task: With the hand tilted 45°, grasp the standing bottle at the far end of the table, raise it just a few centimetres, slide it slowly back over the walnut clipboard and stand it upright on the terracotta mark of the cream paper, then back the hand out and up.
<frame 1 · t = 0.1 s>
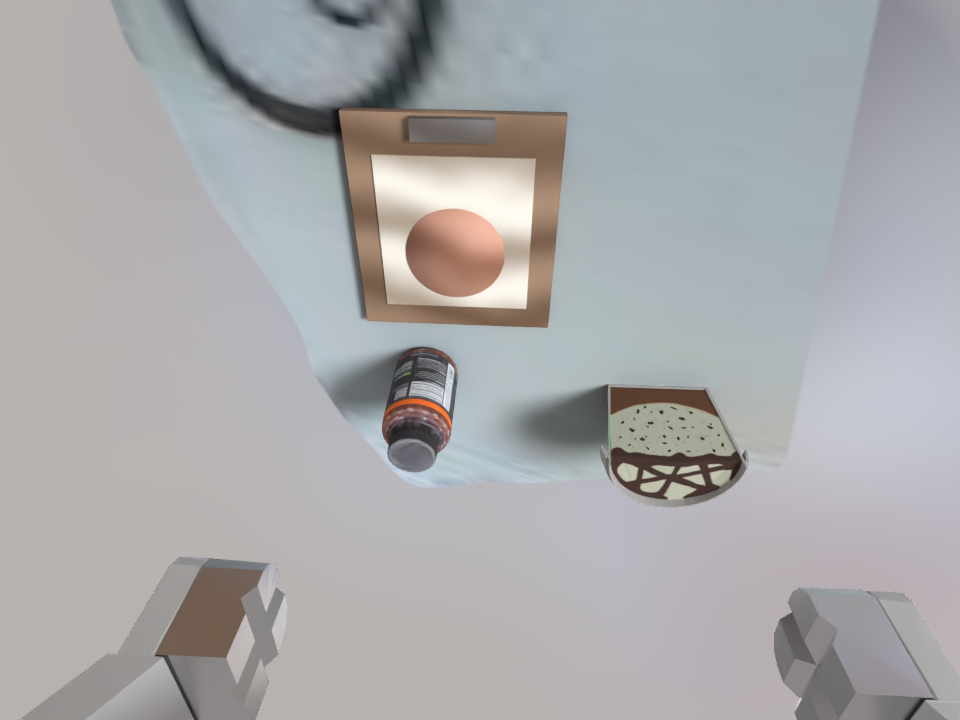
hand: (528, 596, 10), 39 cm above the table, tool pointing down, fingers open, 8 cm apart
supplement bottle: (428, 367, 58), on the table
food container: (651, 407, 59), on the table
clipboard: (455, 226, 48), on the table
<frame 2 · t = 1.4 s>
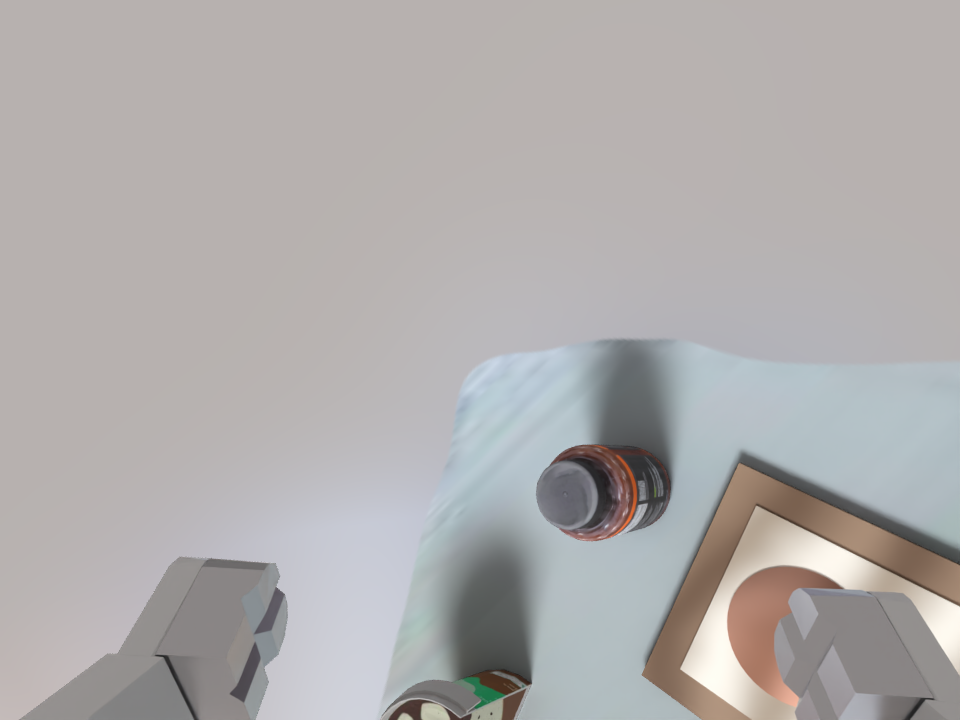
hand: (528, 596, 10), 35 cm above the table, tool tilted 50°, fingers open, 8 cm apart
supplement bottle: (633, 487, 44), on the table
food container: (481, 708, 49), on the table
clipboard: (834, 653, 36), on the table
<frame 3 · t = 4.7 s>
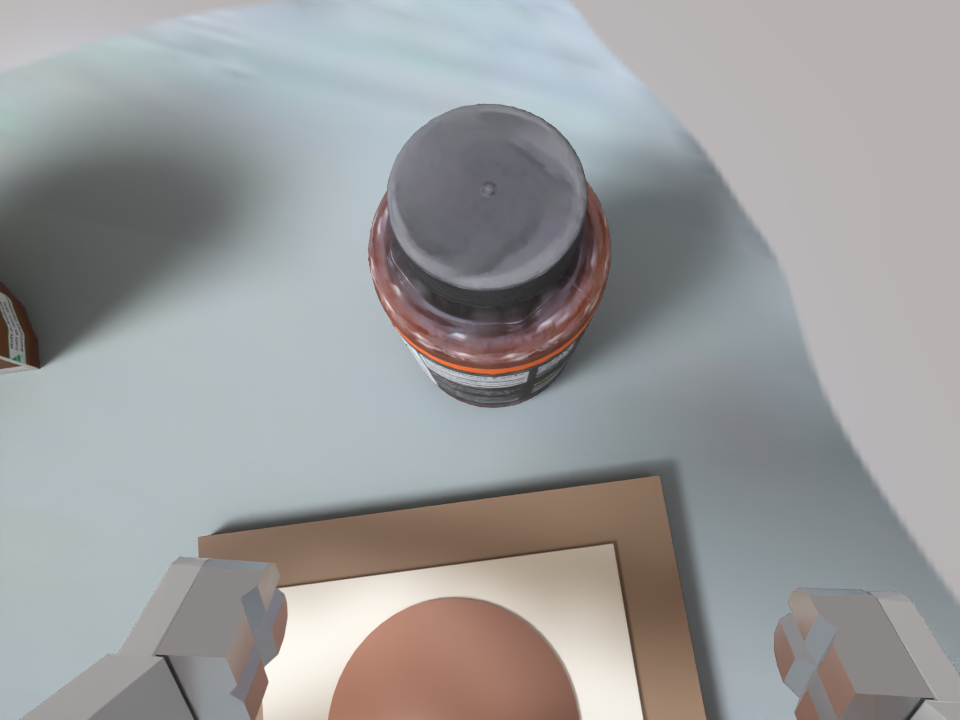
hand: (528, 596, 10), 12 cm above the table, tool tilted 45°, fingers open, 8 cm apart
supplement bottle: (492, 334, 23), on the table
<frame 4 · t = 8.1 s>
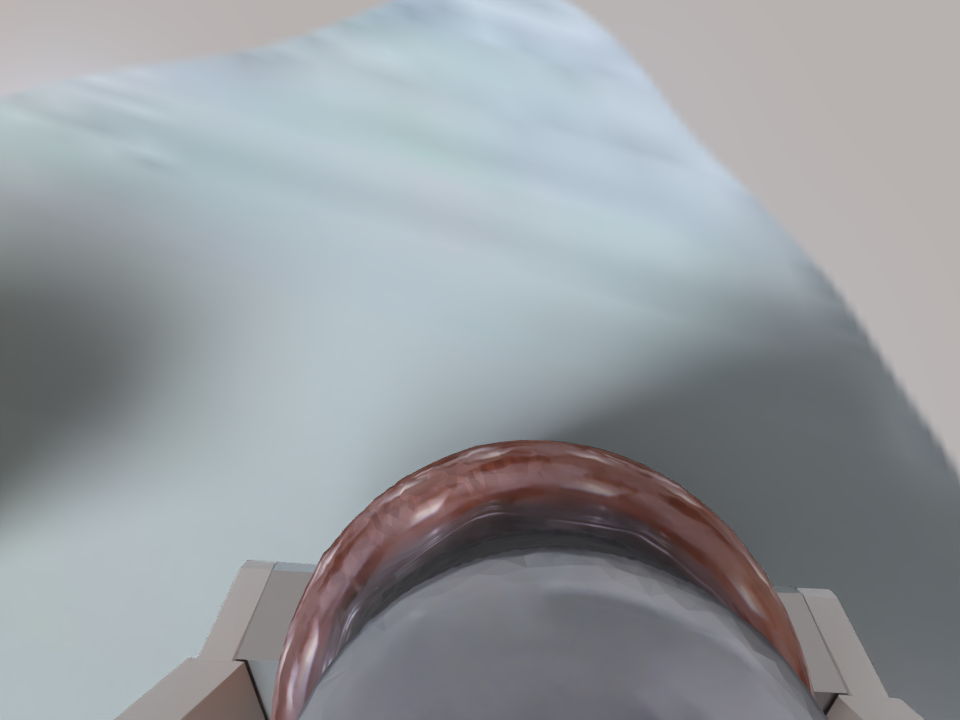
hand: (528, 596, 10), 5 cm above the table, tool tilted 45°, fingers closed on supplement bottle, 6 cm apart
supplement bottle: (518, 583, 15), on the table, touching gripper
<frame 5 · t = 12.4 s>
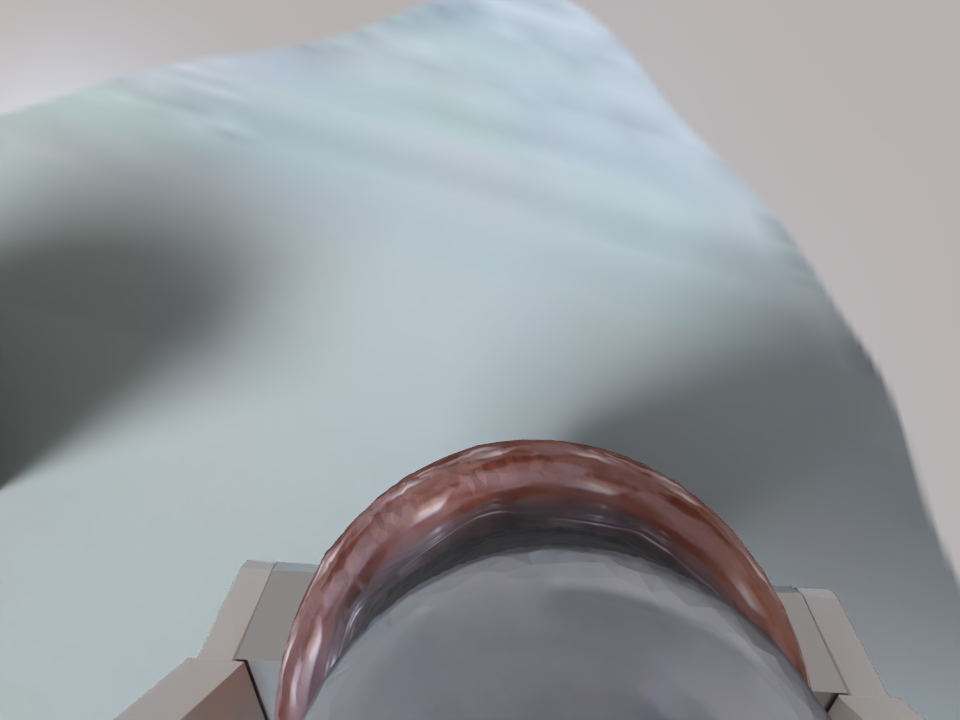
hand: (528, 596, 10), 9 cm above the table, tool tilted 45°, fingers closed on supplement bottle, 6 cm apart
supplement bottle: (517, 582, 15), point 3 cm above the table, touching gripper
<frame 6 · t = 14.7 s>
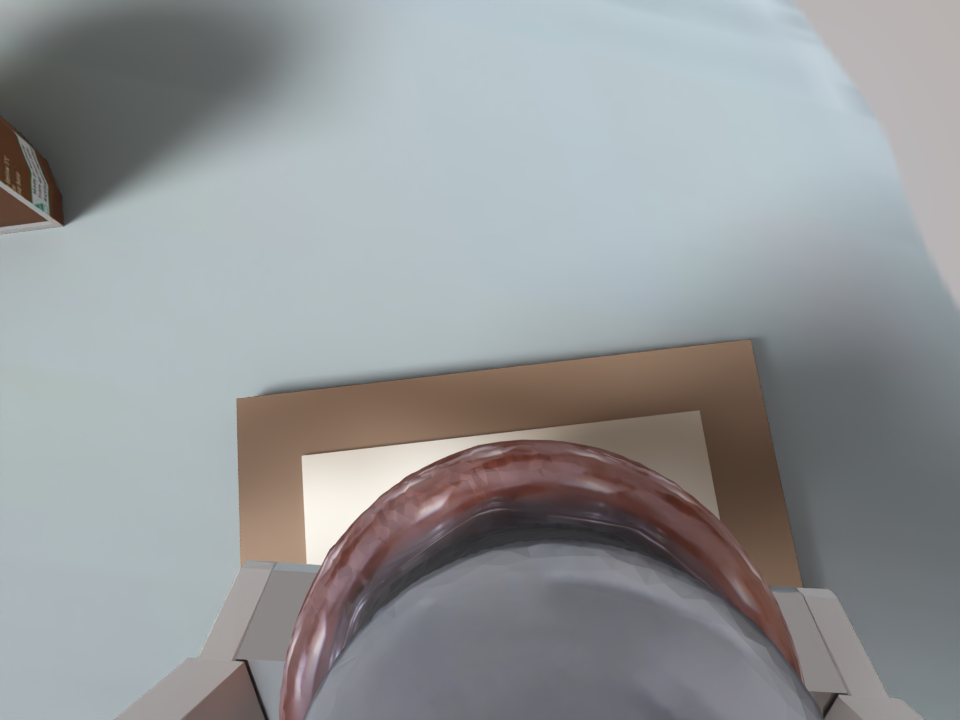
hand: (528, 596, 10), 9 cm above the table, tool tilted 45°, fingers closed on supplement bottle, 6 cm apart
supplement bottle: (517, 582, 15), point 3 cm above the table, touching gripper
clipboard: (527, 675, 17), on the table
when the fingers open (8 cm above the table, at t = 17.0 s): supplement bottle drops 1 cm, resting on clipboard.
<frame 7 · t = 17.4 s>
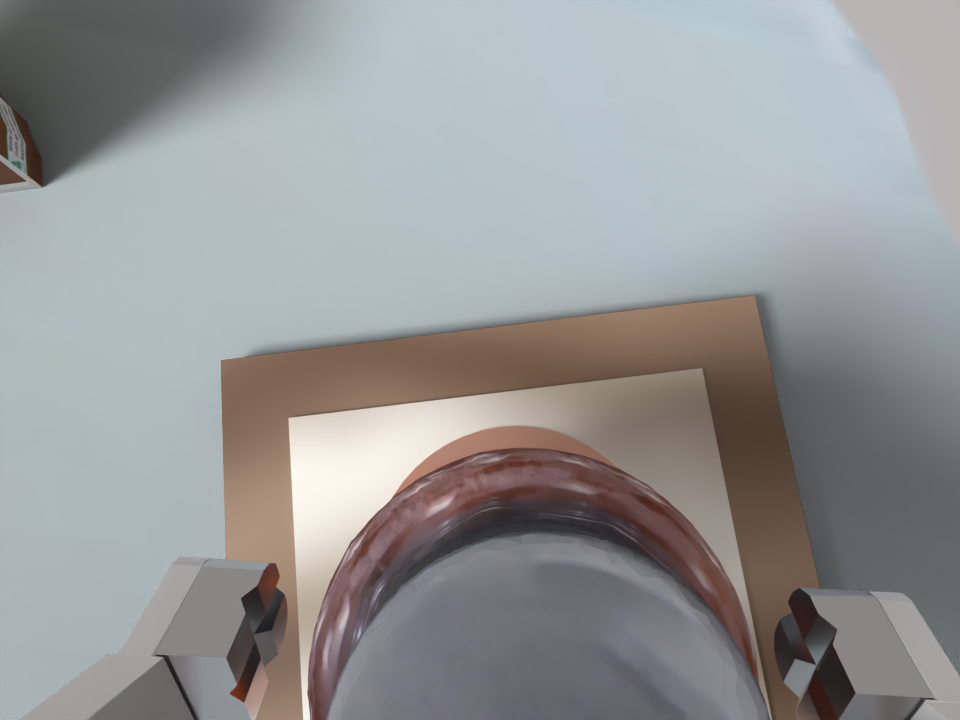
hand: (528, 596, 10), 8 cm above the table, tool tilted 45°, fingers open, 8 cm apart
supplement bottle: (512, 578, 16), point 1 cm above the table, touching clipboard
clipboard: (525, 644, 17), on the table
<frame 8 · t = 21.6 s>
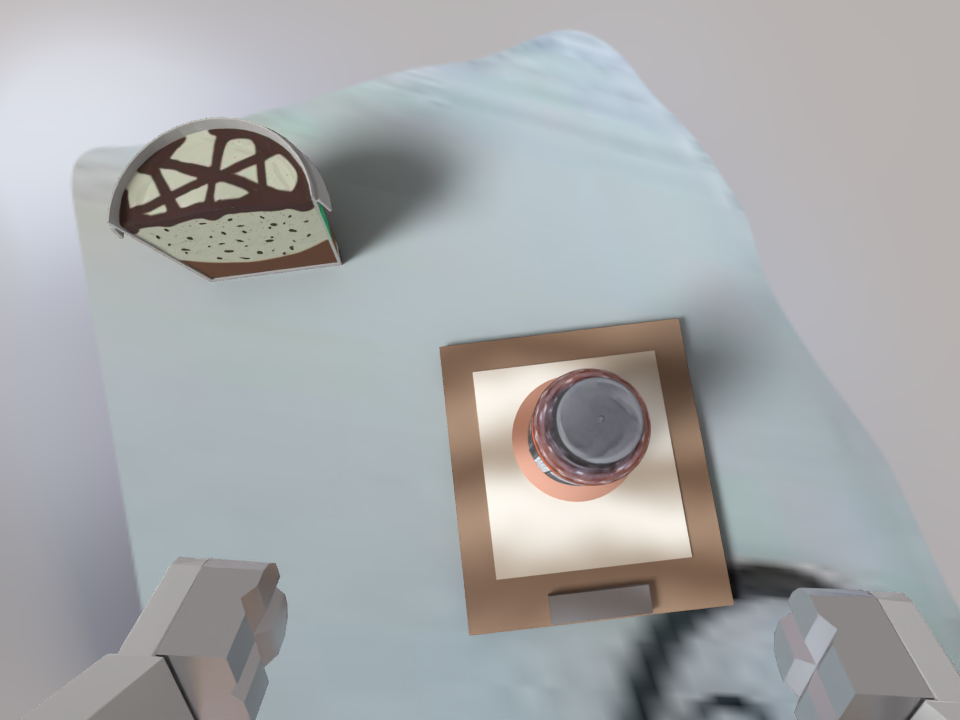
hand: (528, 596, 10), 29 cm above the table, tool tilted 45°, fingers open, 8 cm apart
supplement bottle: (572, 439, 38), point 1 cm above the table, touching clipboard
food container: (275, 234, 43), on the table
clipboard: (577, 469, 39), on the table
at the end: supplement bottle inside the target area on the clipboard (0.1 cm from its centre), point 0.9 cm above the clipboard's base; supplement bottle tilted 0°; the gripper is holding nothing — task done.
